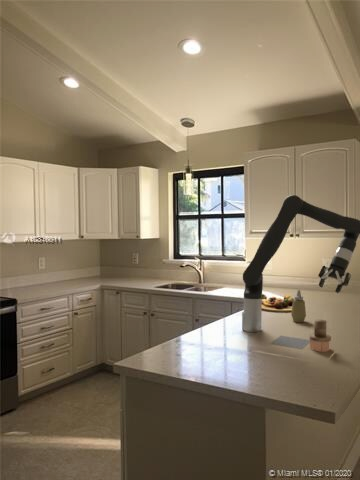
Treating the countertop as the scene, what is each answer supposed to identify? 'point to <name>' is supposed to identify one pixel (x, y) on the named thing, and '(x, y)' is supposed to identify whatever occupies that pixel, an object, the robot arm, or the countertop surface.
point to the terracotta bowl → (320, 345)
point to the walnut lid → (320, 331)
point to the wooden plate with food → (277, 304)
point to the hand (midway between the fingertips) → (328, 289)
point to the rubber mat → (290, 342)
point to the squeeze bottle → (298, 308)
